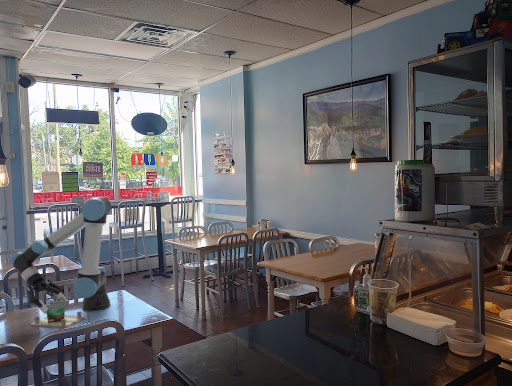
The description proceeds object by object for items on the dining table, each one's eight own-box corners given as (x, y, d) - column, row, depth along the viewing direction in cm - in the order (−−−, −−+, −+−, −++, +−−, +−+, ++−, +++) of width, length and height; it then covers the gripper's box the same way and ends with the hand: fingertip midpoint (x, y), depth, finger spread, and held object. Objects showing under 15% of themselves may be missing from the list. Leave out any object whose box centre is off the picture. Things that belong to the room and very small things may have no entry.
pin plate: (53, 315, 221) (53, 308, 221) (85, 318, 215) (84, 311, 214) (31, 325, 207) (30, 317, 206) (64, 329, 200) (63, 321, 200)
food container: (56, 324, 204) (55, 305, 204) (45, 323, 206) (44, 304, 205) (72, 315, 216) (71, 297, 216) (61, 315, 218) (60, 297, 217)
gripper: (47, 275, 227) (70, 303, 223) (8, 288, 203) (33, 319, 199) (54, 267, 225) (77, 295, 221) (15, 278, 201) (41, 310, 197)
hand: (56, 307), depth 210 cm, fingers open, 13 cm apart
